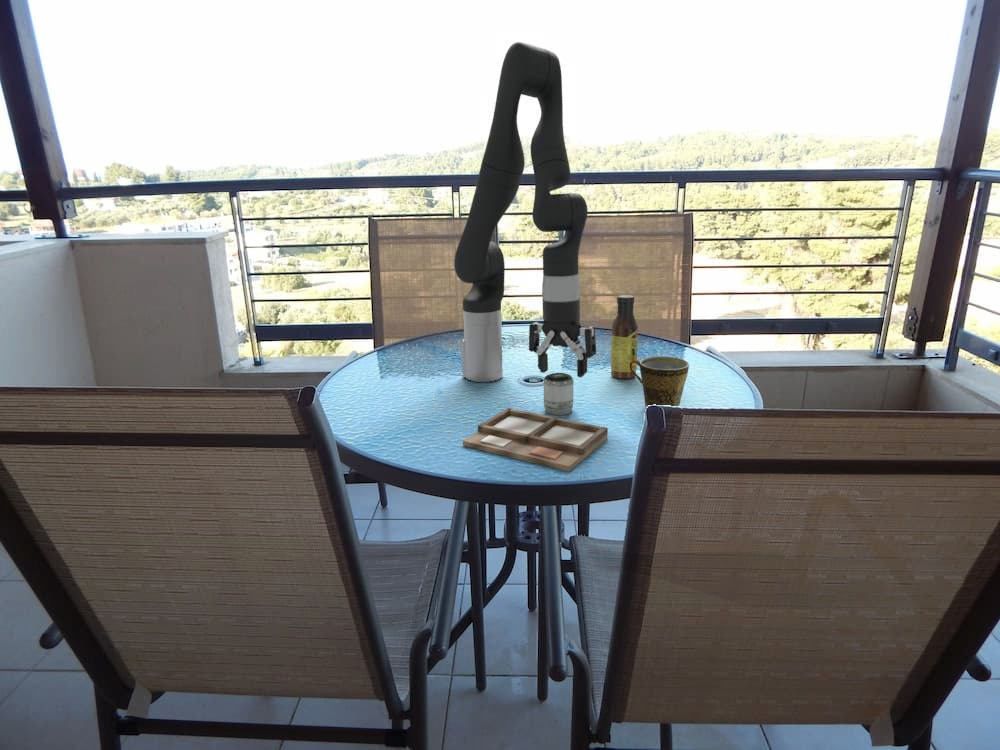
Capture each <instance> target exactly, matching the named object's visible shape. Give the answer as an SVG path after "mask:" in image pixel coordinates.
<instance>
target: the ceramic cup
mask: <svg viewBox="0 0 1000 750" xmlns="http://www.w3.org/2000/svg"><path fill="white" fill-rule="evenodd" d="M633 363H636V364H637V366H638V367H639V371H640V376H639V375H638V373H637V372H636V373H635V372H634V370H633V369H632V364H633ZM689 369H690V363H689V361H686V360H685V359H683V358H678V357H672V356H658V355H657V356H649V357H645V358H643V359H640V360H638V359H637V360H634V361H632V362H631V363H630V370H631V372H632V373H633V374H634V375H635V376H634V377H636V379H638V381H639V383H641V385H642V390H643V397H644V398H643V399H644V406H645V407H646V406H648V405H653V404H656V405H671V406H679V407H680V404H681V399H682V396H683V392H684V388H685V385H686V381H687V377H688V373H689Z"/></svg>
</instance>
